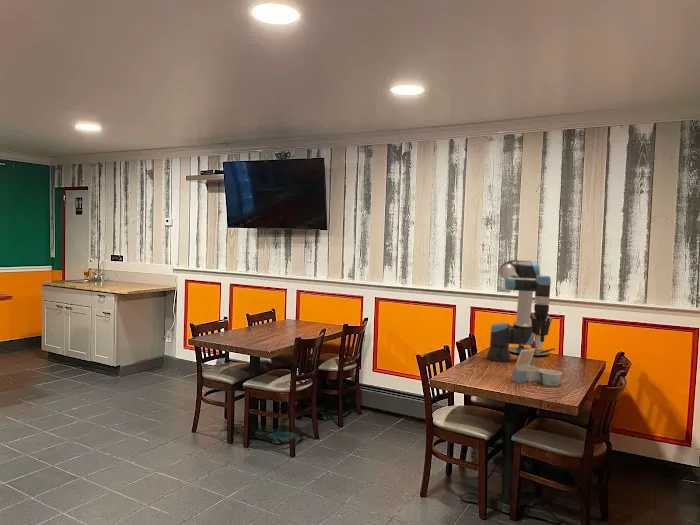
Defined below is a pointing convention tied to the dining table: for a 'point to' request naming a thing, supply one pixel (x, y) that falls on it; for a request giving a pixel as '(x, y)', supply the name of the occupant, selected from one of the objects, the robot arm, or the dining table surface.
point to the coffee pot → (536, 354)
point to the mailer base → (531, 373)
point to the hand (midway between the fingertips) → (539, 347)
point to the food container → (549, 377)
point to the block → (519, 376)
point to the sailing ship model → (533, 345)
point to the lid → (525, 357)
